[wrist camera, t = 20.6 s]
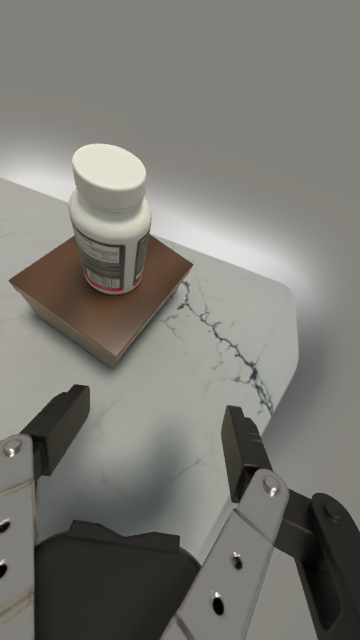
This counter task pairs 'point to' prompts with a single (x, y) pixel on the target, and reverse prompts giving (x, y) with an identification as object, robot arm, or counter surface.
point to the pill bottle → (110, 216)
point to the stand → (99, 298)
